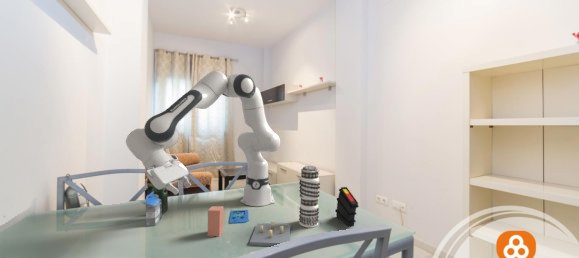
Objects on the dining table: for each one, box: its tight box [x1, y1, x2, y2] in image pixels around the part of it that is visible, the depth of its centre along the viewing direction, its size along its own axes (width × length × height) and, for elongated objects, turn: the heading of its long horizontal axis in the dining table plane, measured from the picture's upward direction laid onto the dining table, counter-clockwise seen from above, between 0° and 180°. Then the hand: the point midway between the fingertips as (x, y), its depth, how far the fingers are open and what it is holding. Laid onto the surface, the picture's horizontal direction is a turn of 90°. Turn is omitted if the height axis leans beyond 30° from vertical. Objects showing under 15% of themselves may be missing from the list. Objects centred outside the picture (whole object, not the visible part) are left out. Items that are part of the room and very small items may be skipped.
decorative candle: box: [298, 165, 321, 228], centre depth 106 cm, size 9×9×25 cm
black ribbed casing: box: [335, 186, 360, 227], centre depth 109 cm, size 4×13×15 cm, turn 18°
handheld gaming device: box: [228, 209, 249, 225], centre depth 113 cm, size 8×1×15 cm
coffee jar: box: [146, 177, 169, 215], centre depth 116 cm, size 10×8×19 cm
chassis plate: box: [249, 221, 291, 247], centre depth 94 cm, size 16×14×4 cm
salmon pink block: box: [207, 205, 224, 238], centre depth 95 cm, size 5×5×10 cm
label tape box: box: [145, 191, 163, 227], centre depth 105 cm, size 9×4×12 cm, turn 12°
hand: (183, 189), depth 95 cm, fingers open, 8 cm apart
